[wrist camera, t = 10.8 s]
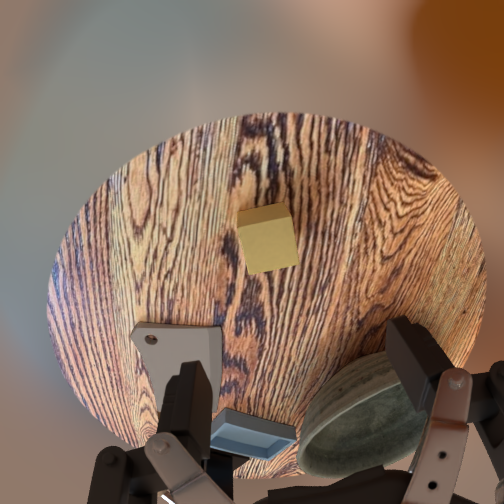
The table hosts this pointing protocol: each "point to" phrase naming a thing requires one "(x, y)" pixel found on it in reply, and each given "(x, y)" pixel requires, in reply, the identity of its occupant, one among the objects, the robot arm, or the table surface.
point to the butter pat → (267, 238)
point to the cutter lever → (166, 496)
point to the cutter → (223, 468)
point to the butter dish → (250, 435)
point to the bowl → (359, 421)
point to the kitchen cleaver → (179, 354)
